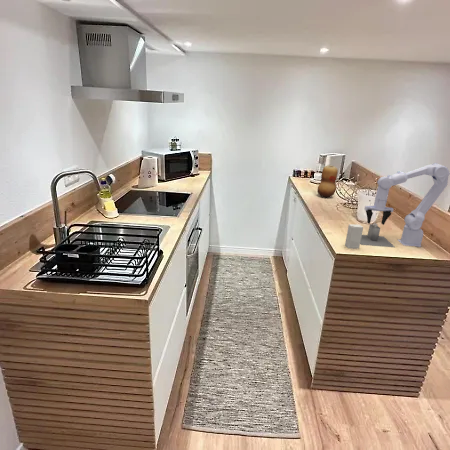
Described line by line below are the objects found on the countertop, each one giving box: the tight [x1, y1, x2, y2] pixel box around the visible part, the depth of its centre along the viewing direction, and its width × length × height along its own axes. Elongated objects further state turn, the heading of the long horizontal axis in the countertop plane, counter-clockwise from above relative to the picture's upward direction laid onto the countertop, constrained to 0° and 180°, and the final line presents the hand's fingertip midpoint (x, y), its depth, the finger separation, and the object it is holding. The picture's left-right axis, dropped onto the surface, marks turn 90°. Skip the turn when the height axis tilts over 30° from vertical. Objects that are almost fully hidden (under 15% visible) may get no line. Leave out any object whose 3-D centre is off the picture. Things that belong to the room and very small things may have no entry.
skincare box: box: [344, 223, 364, 250], centre depth 176 cm, size 6×4×12 cm
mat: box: [360, 234, 396, 248], centre depth 189 cm, size 18×16×1 cm
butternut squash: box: [317, 164, 339, 198], centre depth 274 cm, size 14×13×25 cm
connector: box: [366, 222, 381, 241], centre depth 190 cm, size 4×8×9 cm, turn 178°
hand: (375, 223), depth 189 cm, fingers open, 7 cm apart
